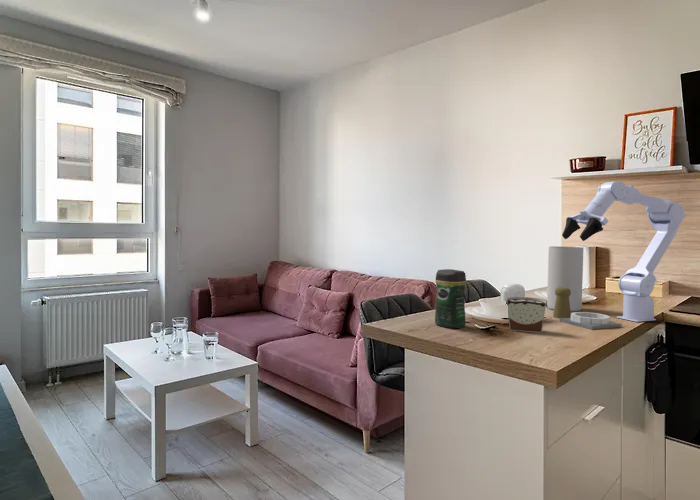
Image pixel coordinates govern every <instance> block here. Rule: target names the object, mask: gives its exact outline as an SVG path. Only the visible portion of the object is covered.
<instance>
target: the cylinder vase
mask: <svg viewBox="0 0 700 500" xmlns="http://www.w3.org/2000/svg"><path fill="white" fill-rule="evenodd" d="M584 249H585V248H584V247H581V246H548V257H547V258H548V259H547V260H548V261H547V294H546V296H547V297H546V303H547V306H548V308H547V309H548V310H549V309H550V310H552V311H554V308H555V302H556V294H555V289H556V288H558V287H566V288H569V289H570V291H571V294H570V296H569V302H570V311H571V313H573V312H581V310H582V306H583V305H582V304H583V299H582V298H583V280H584V279H583V276H584V274H583V273H584Z"/></svg>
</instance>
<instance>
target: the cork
mask: <svg viewBox="0 0 700 500" xmlns="http://www.w3.org/2000/svg"><path fill="white" fill-rule="evenodd" d="M555 294H556V302H555V308H554V310H553V312H552V313H553V314H552V317H553V318H555V319H559V320H560V318H571V313H572V312H571V311H570V302H569V296H570V294H571V291H570V289H569V288H566V287H558V288H556V289H555Z"/></svg>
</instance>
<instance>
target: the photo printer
mask: <svg viewBox="0 0 700 500" xmlns="http://www.w3.org/2000/svg"><path fill="white" fill-rule="evenodd" d="M510 297H526V290H525V287H524V286H523V285H521V284H520V283H508V284H506V285H504V286H502V287H501V289H500V299H499V300H500V301H506V300H507V298H510ZM500 301H499V302H500Z"/></svg>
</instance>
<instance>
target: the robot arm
mask: <svg viewBox="0 0 700 500" xmlns="http://www.w3.org/2000/svg"><path fill="white" fill-rule="evenodd" d="M615 201H617V202H621V203H624V204H627V205H634V204H638V205H641V206H644V207H646V209H645V213H646V215H647V218H648V220H649V222H650V224H651V227H652V228H653V229H654V230H655V231H656V232H655V234H654V235H653V238H652V239H651V241H650V243H649V244H648V246H647V248H646V249H645V251H644V253H643V254H642V255H641V257H640V259H639V261H638V263H637V264H636V265H635V266H634V267H632V268H630V269H628V270H626V272H625V273H624V274H623V275H621V276H620V277H619V279H618V283H617V285H618V288H619V290H620V291H621V294H623V299H622V303H623V304H622V315H618V316H616V318H617V319H621V320H627V321H631V322H636V323H640V322H650V321H656V320H657V319H656V318H654V316H655V315H654V311H655V300H654V299H653V297H652V296H650V295H651V294H652V293H653V291H654V290H655V289H654V288H655V285H656V282H657V278H656V276H655V275H654V271H655V270H656V268H657V266H658V265H659V264H660V262H661V260H662V258H663V257H664V255H665V253H666V251H667V250H668V248H669V247H670V245H671V243H672V242H673V240H674V239H675V237H676V235H677V232H678V228H679V227H680V226H681V224H682V222H683V220H684V219H685V217H686V215H685V209H684V207H683V205H682V204H681V203H680V202H679V203H678V202H676V203H675V201H673V200H670V199H666V198H660V197H656V196H653V195H648V194H645V193H641V192H640V190H639V189H637V188H636V187H634V185H631V184H630V185H626V184H625V181H624V182H623V181H622V180H621V181H619V180H617V181H616V180H615V181H609V182H607V181H606V182H603V183H602V184H599V185H598V188H597V192H596V194H595V196H594V197H593V198H592V200H591V201H590V202H589V203H588V205H587V206H586V207H585V208H584V209H581V210H580V211H579V213H577V214H574V215H569V216H568V217H566V220H565V221H566V222H565V227H564V229H563V231H562V234H561V236H562V237H563V238H564V240H567V239H569V238H570V237H571V236H572V235H573V233H575V232H576V231H578V230H580V229H581V227H580V225H579V224H582V225H586V226H585V228H584V229H583V230H582V231H581V233H580V235H579V238H580V239H581V241H582V242H584V241H586V240H588V239H589V238H591V237H593V235H595V234H598V233H599V232H602V231H604V227H603V226H606V225H607V224H608V223H609V220H608V218H607V216H603V215H605V213H606V212H607V211H608V209H609V208H610V207H611V206H613V205H612V204H613V203H614V202H615Z"/></svg>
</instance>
